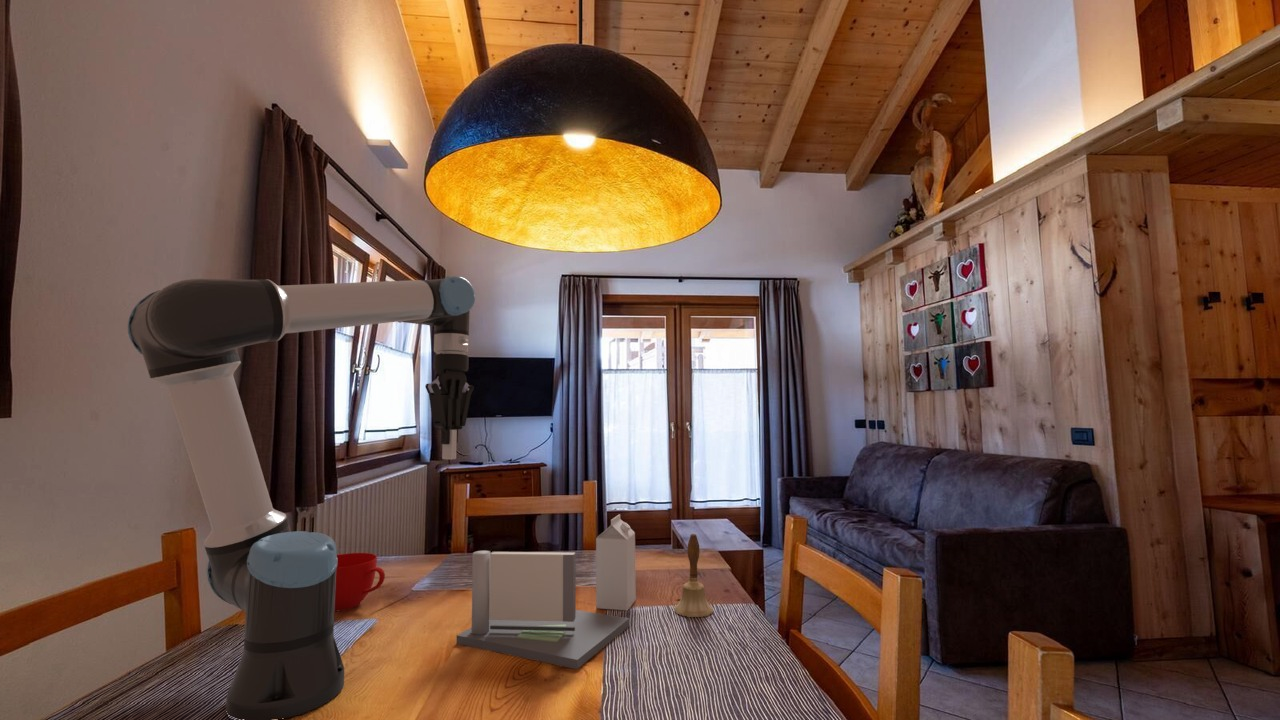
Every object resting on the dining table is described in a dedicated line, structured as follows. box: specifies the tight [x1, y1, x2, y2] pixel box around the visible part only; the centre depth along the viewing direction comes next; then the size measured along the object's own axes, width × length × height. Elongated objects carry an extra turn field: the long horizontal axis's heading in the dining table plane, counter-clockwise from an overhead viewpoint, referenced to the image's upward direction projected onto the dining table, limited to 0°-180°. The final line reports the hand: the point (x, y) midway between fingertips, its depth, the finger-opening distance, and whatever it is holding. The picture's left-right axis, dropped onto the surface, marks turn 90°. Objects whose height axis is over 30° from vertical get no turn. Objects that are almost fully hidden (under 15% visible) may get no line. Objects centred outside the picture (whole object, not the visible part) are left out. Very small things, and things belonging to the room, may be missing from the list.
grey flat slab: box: [455, 609, 630, 670], centre depth 106 cm, size 20×26×2 cm
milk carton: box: [595, 513, 637, 611], centre depth 123 cm, size 7×7×19 cm
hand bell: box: [674, 533, 714, 618], centre depth 119 cm, size 8×8×16 cm
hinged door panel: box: [471, 550, 577, 635], centre depth 104 cm, size 20×3×14 cm, turn 85°
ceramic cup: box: [334, 552, 386, 612], centre depth 123 cm, size 13×17×10 cm
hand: (449, 458), depth 123 cm, fingers closed
